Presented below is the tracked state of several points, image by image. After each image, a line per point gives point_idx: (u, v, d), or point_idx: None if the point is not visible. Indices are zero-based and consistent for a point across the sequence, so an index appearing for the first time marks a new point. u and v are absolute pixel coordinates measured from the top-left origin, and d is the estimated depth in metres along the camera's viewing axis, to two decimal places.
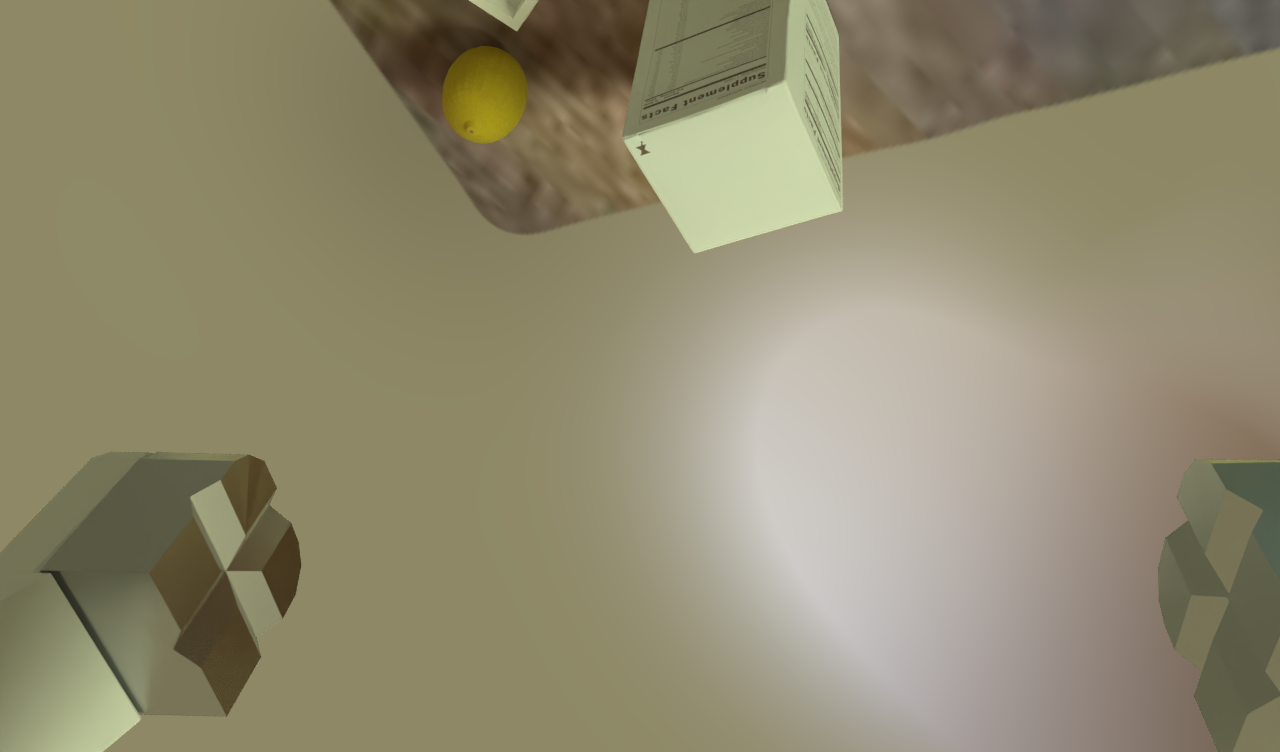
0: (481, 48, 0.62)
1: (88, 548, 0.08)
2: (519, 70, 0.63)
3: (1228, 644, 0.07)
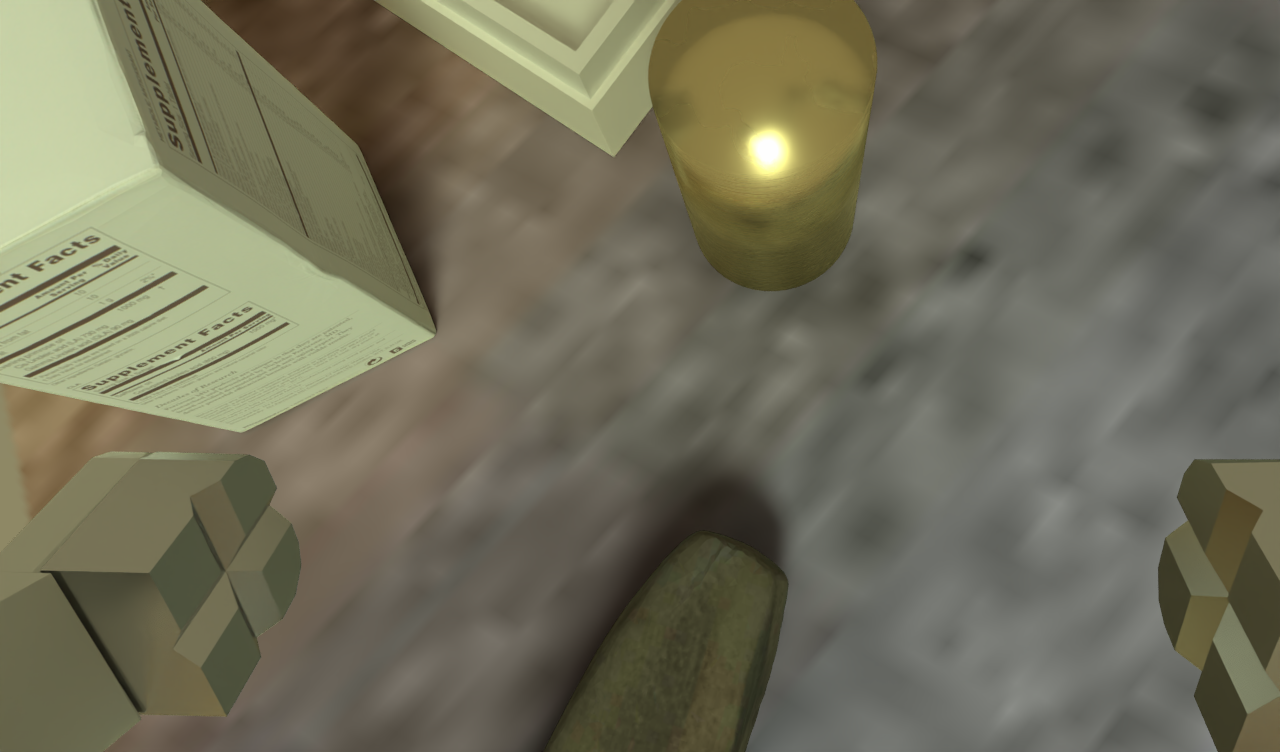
0: None
1: (89, 548, 0.08)
2: None
3: (1228, 644, 0.07)
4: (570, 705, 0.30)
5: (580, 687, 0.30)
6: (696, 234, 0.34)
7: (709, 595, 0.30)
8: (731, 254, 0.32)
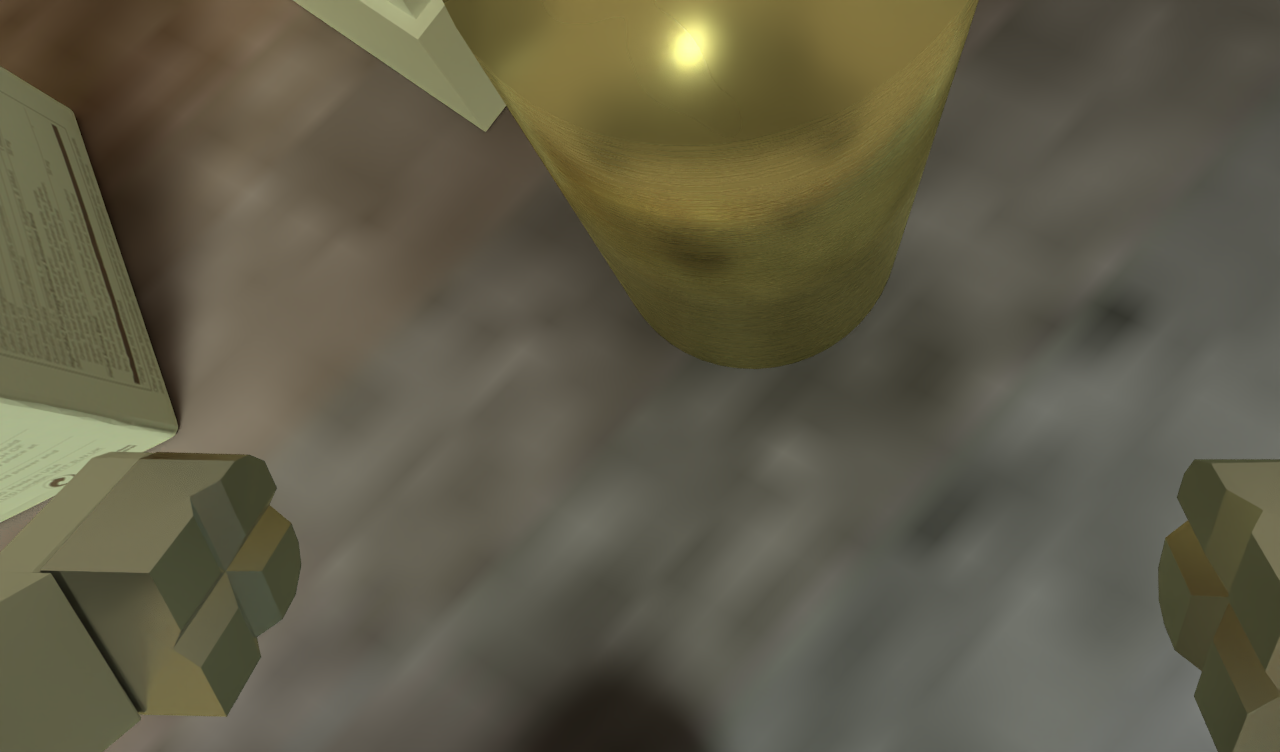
0: None
1: (88, 548, 0.08)
2: None
3: (1228, 644, 0.07)
4: None
5: None
6: None
7: None
8: (670, 312, 0.16)
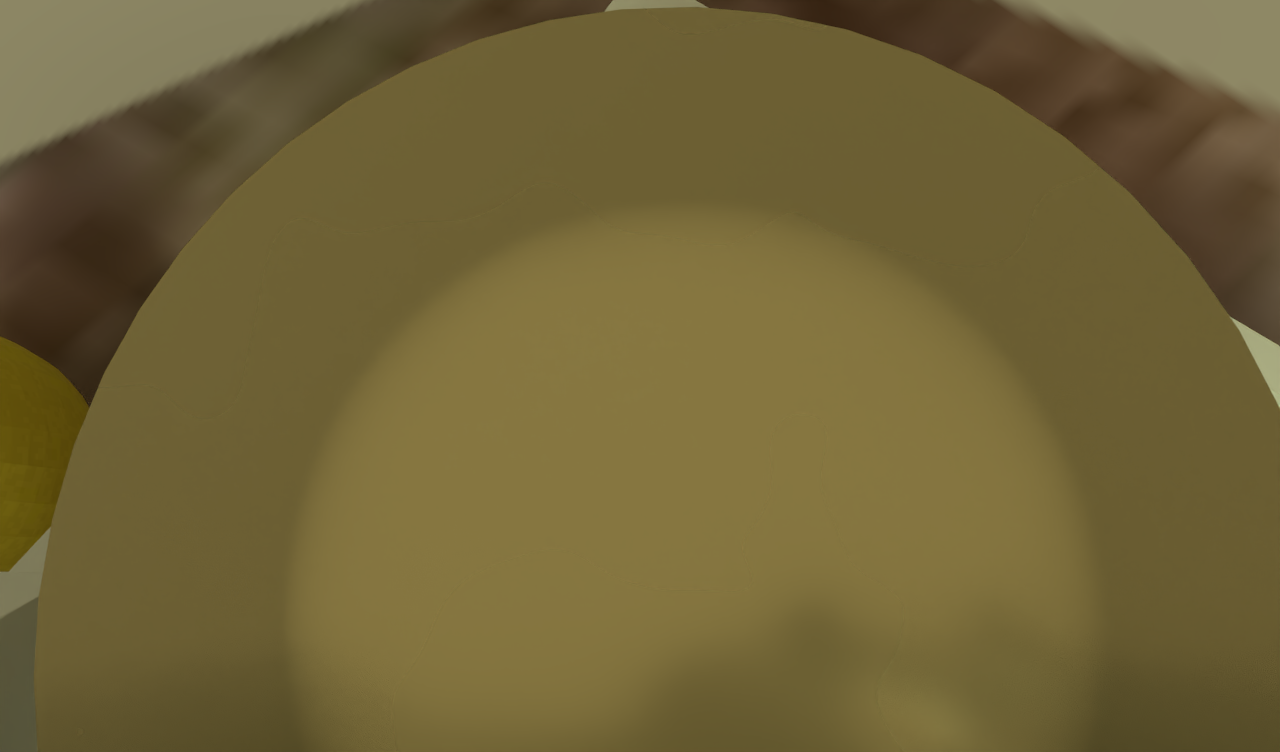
0: None
1: None
2: None
3: None
4: None
5: None
6: None
7: None
8: None
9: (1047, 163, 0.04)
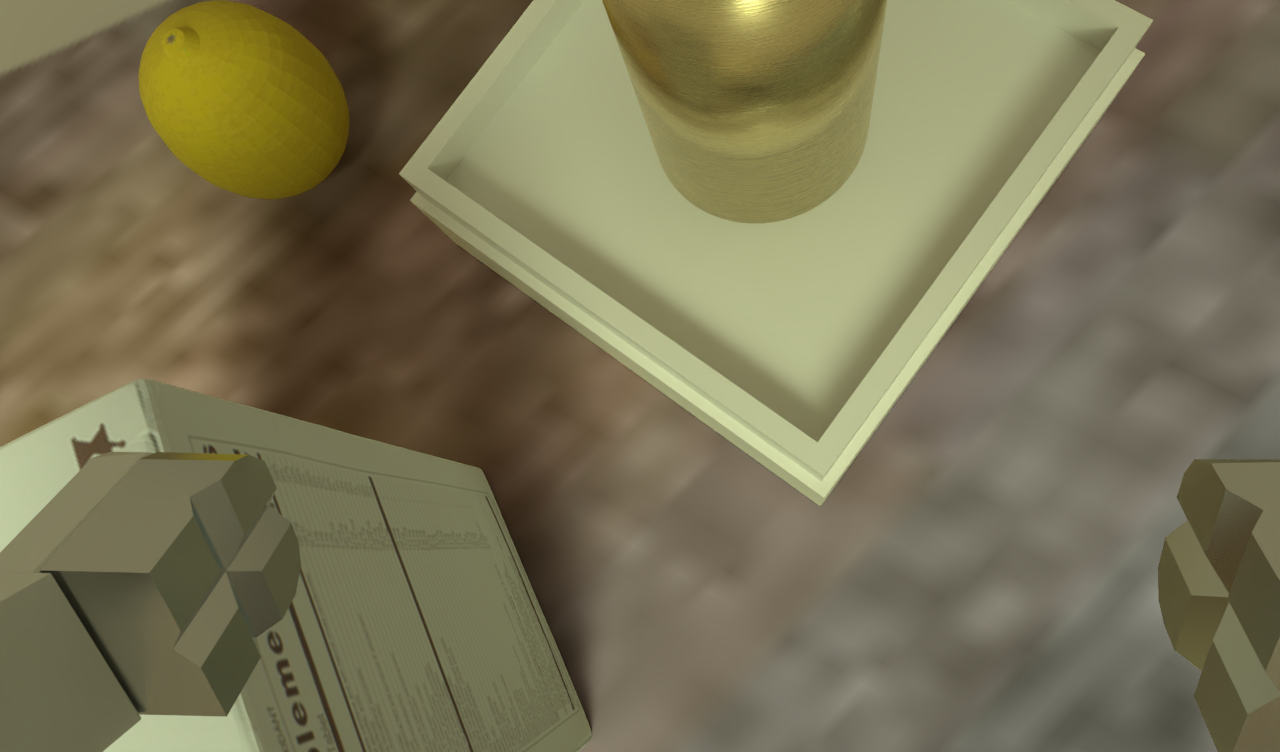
0: (347, 116, 0.31)
1: (89, 548, 0.08)
2: (298, 184, 0.30)
3: (1228, 644, 0.07)
4: None
5: None
6: (654, 142, 0.25)
7: None
8: (700, 161, 0.23)
9: None
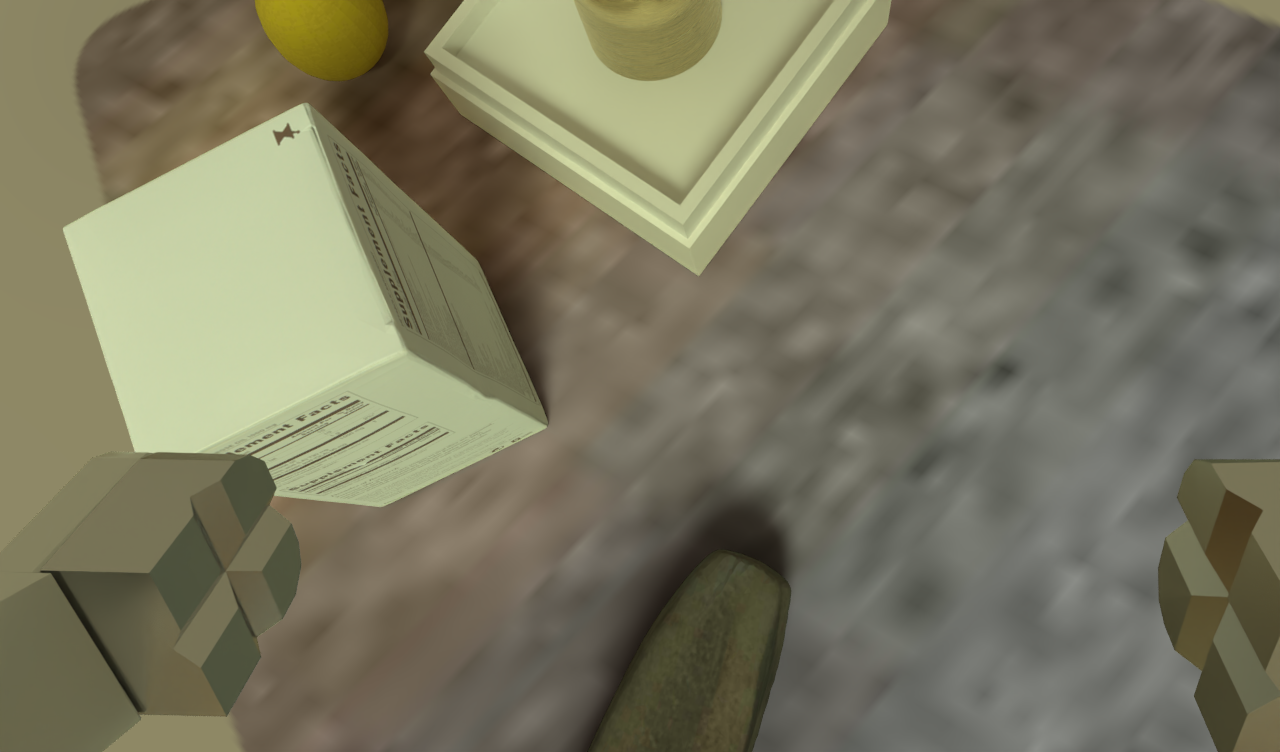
0: (387, 24, 0.46)
1: (89, 548, 0.08)
2: (355, 68, 0.45)
3: (1228, 644, 0.07)
4: (619, 693, 0.38)
5: (627, 678, 0.38)
6: (584, 26, 0.40)
7: (728, 601, 0.37)
8: (608, 30, 0.38)
9: None
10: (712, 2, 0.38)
